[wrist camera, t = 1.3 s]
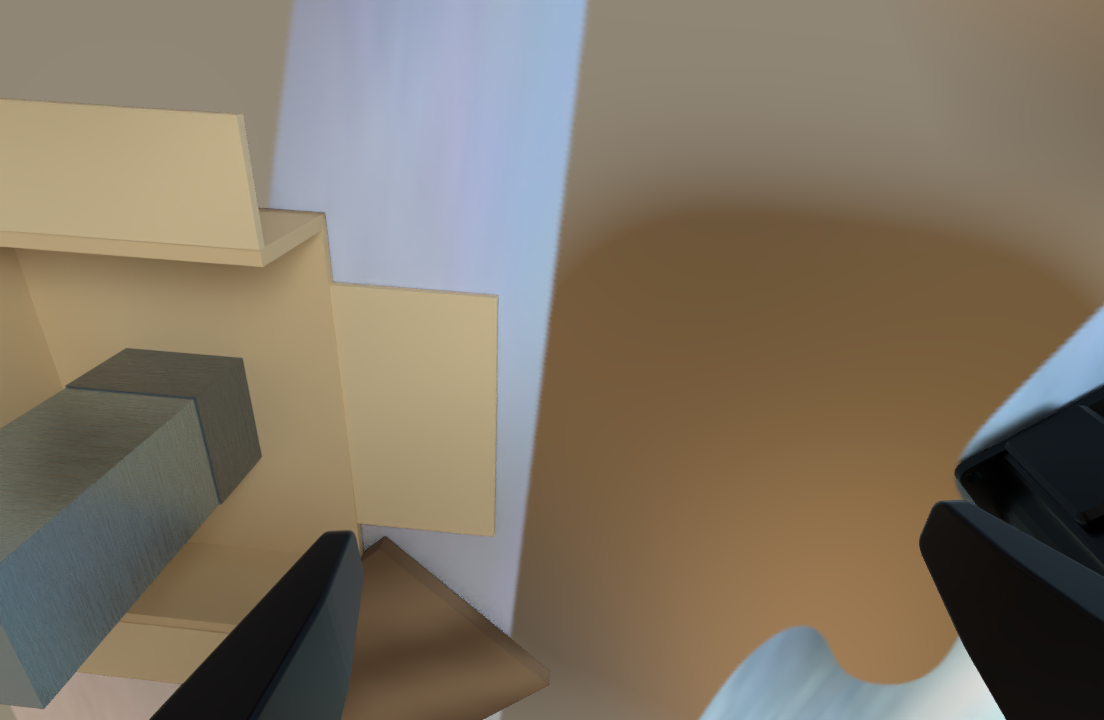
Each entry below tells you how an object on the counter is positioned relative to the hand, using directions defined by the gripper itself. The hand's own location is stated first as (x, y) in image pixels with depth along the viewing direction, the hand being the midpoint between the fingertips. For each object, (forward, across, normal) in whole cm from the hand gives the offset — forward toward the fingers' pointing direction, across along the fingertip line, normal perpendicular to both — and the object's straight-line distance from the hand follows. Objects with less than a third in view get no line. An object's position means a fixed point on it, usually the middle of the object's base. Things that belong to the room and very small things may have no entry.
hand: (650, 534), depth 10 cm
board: (+13, +8, +21) cm, 26 cm away
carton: (+15, +13, +7) cm, 21 cm away
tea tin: (+14, +15, +7) cm, 22 cm away
